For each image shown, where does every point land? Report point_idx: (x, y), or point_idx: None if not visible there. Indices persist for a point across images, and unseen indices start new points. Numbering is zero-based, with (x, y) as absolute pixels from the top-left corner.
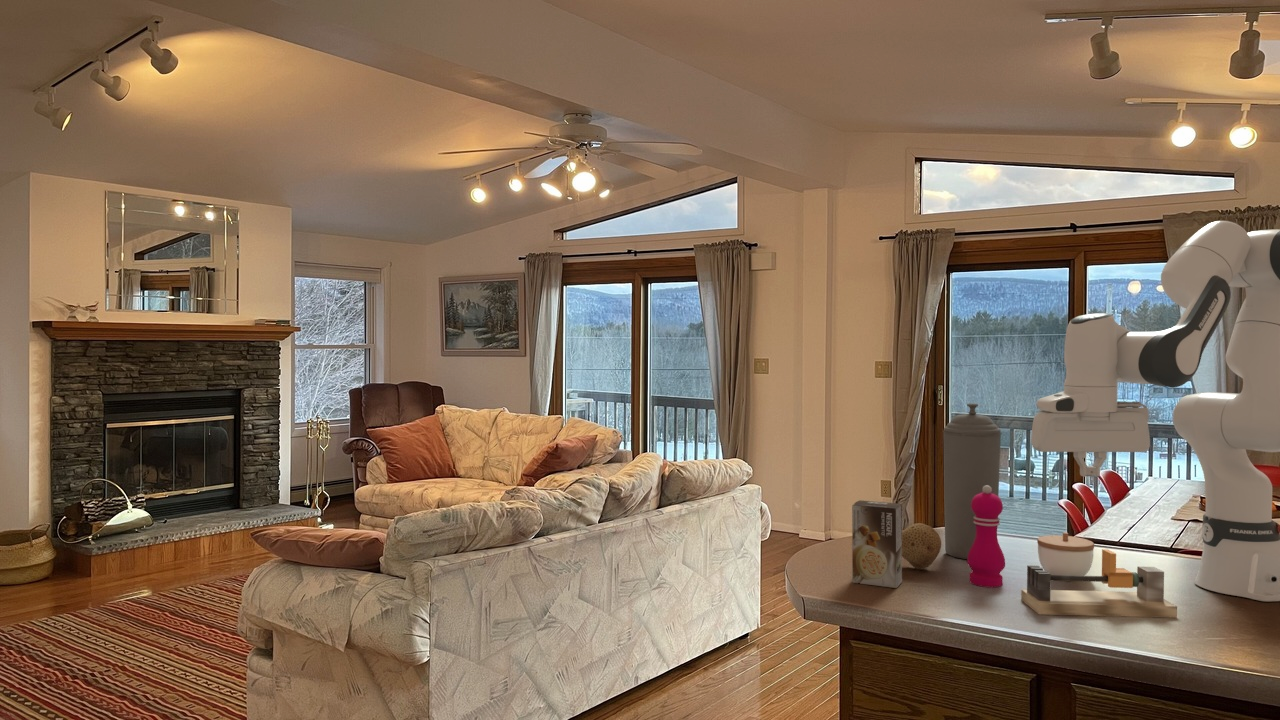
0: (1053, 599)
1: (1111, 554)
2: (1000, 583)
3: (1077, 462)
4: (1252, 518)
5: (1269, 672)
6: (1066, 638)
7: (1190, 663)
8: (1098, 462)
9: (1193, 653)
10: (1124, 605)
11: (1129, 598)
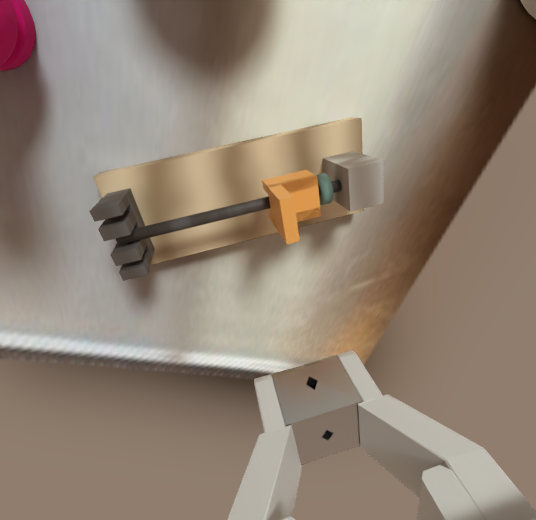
0: (161, 236)
1: (288, 242)
2: (29, 49)
3: (248, 473)
4: None
5: None
6: (174, 351)
7: None
8: (394, 468)
9: (311, 346)
10: None
11: None
